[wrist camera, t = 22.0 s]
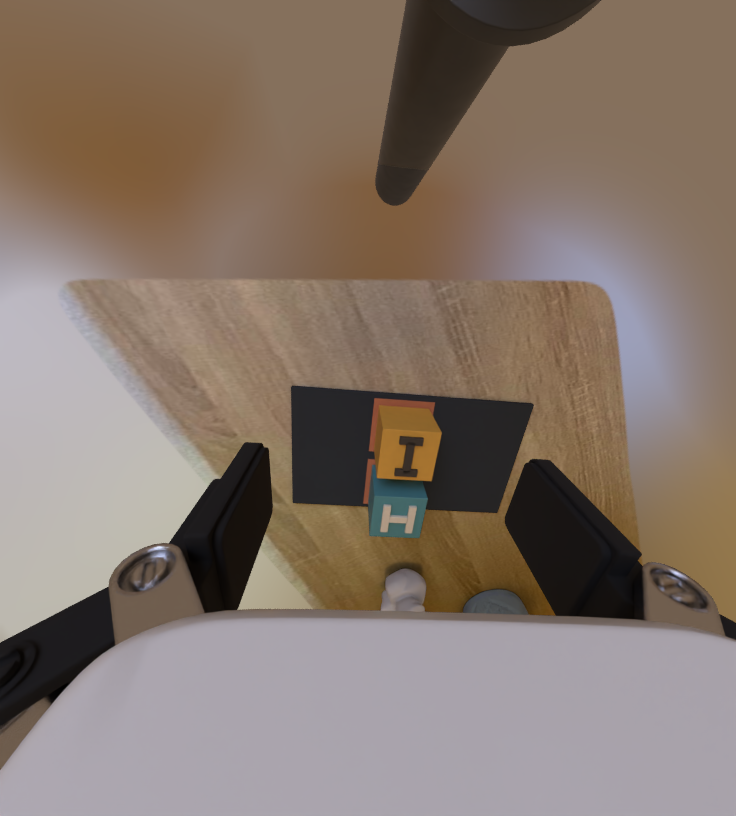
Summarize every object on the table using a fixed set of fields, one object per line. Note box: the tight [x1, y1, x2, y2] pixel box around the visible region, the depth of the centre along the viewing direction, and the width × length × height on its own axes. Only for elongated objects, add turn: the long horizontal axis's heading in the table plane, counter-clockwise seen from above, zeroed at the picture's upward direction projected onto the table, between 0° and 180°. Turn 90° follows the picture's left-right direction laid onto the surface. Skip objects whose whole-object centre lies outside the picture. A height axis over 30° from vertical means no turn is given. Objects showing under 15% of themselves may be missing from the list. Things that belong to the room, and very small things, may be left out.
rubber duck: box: [381, 569, 426, 612], centre depth 36 cm, size 5×7×8 cm
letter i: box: [374, 405, 442, 481], centre depth 28 cm, size 5×5×5 cm
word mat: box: [291, 386, 534, 513], centre depth 32 cm, size 14×24×1 cm, turn 85°
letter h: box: [368, 465, 428, 538], centre depth 31 cm, size 5×5×5 cm
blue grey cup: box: [463, 589, 529, 615], centre depth 38 cm, size 10×10×12 cm
